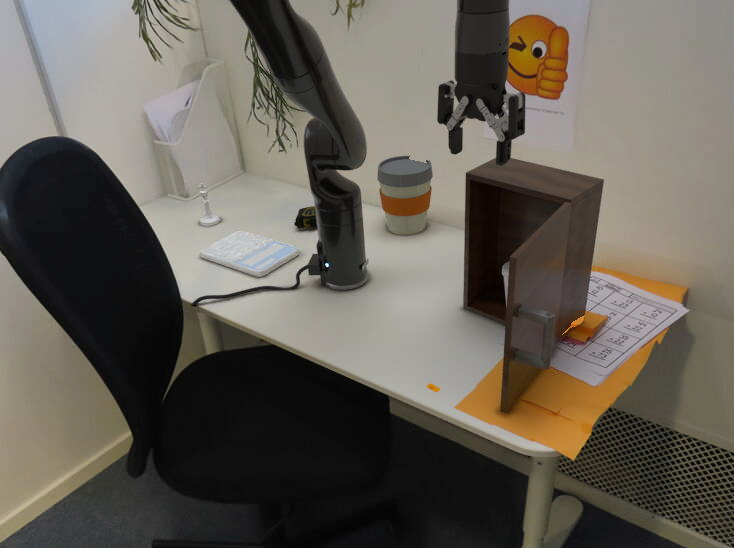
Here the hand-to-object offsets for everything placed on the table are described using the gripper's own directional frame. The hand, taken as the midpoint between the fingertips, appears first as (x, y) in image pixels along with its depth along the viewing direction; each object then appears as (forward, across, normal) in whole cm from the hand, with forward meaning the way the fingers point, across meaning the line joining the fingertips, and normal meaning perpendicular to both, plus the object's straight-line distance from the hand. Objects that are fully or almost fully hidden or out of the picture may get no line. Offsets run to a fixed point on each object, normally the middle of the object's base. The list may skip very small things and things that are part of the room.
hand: (478, 158), depth 105 cm
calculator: (+33, -59, -6) cm, 67 cm away
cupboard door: (+32, +17, -5) cm, 37 cm away
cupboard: (+33, +3, +11) cm, 34 cm away
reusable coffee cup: (+33, -40, +27) cm, 58 cm away
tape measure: (+33, -60, +13) cm, 69 cm away
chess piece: (+33, -82, 0) cm, 88 cm away
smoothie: (+32, +3, +9) cm, 33 cm away
